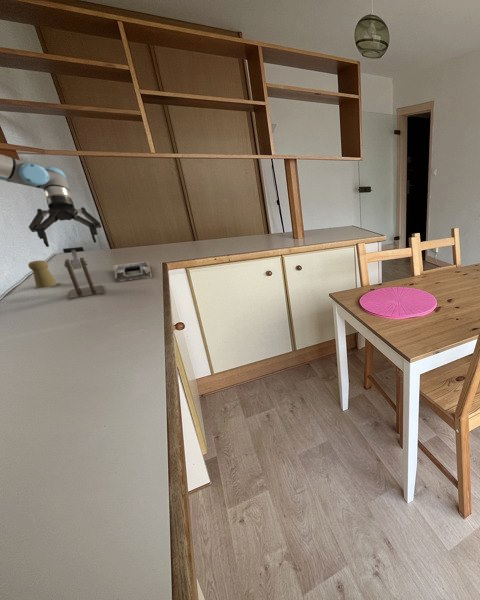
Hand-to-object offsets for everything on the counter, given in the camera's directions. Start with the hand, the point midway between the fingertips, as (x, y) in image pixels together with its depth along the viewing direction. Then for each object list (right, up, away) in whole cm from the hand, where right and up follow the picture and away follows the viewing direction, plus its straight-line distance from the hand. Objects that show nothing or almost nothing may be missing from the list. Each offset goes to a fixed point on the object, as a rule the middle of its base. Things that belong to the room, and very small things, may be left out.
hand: (71, 242), depth 124 cm
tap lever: (+6, -7, -4) cm, 10 cm away
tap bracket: (+9, -21, -3) cm, 23 cm away
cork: (-13, -18, +4) cm, 23 cm away
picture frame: (+7, -11, +21) cm, 25 cm away
